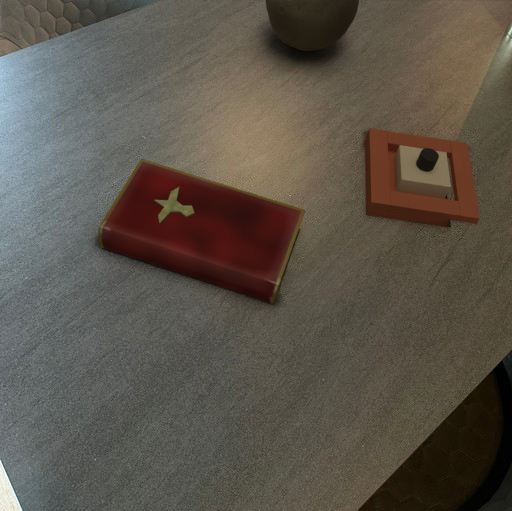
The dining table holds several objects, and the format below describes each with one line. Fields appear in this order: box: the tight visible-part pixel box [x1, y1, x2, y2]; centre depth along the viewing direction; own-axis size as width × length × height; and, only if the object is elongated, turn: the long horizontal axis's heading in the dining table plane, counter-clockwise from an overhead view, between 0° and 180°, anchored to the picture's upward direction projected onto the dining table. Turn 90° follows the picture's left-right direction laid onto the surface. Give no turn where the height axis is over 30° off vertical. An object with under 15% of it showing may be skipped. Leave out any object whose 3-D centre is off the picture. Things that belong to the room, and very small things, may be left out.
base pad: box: [364, 127, 481, 228], centre depth 84 cm, size 14×14×2 cm
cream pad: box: [394, 145, 452, 199], centre depth 83 cm, size 6×6×4 cm
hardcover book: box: [97, 158, 306, 305], centre depth 73 cm, size 12×21×4 cm, turn 73°
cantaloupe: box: [265, 0, 360, 52], centre depth 95 cm, size 14×14×15 cm
